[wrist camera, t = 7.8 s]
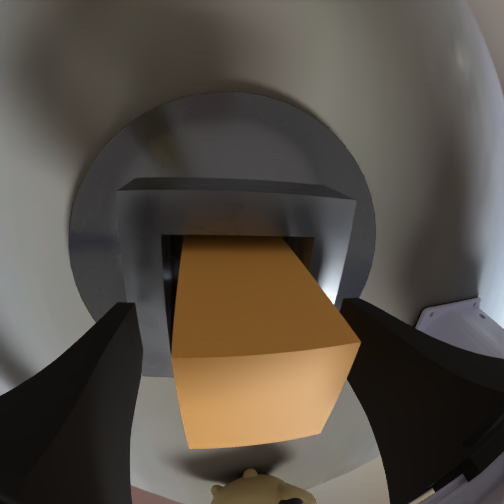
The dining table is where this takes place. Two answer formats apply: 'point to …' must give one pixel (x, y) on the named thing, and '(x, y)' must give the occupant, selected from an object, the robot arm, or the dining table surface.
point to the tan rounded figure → (260, 491)
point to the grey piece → (215, 204)
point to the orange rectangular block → (254, 343)
